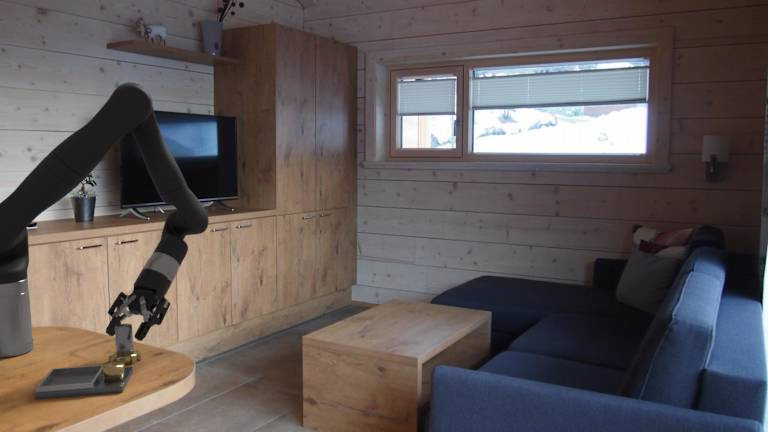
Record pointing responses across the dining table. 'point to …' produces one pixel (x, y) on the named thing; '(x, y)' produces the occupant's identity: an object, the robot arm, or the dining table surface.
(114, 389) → the tray
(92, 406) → the dining table surface
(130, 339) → the gear
